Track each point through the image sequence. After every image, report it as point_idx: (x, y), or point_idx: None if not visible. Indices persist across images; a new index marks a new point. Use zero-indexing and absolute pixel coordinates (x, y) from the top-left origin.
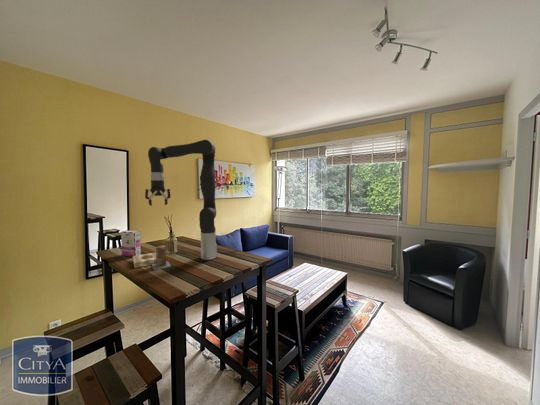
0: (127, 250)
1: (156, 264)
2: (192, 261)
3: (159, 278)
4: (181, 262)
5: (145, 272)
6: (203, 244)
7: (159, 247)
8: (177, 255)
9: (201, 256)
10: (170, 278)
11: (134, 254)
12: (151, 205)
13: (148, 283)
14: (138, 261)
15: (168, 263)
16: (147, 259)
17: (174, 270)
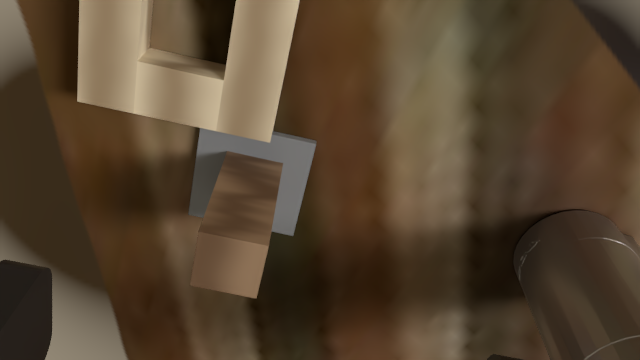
0: None
1: (227, 148)
2: (444, 239)
3: (182, 322)
4: (382, 207)
5: (139, 207)
6: (547, 350)
7: (212, 276)
8: (452, 42)
9: (521, 254)
10: (226, 353)
11: None
12: (40, 348)
13: (124, 335)
14: (106, 91)
15: (299, 186)
16: (174, 93)
17: (284, 287)
